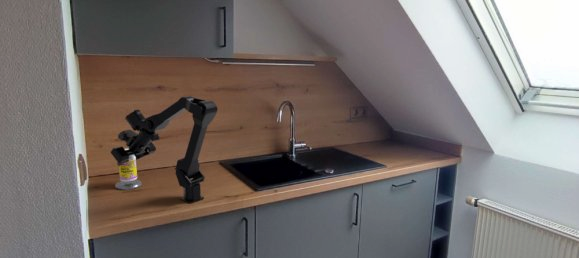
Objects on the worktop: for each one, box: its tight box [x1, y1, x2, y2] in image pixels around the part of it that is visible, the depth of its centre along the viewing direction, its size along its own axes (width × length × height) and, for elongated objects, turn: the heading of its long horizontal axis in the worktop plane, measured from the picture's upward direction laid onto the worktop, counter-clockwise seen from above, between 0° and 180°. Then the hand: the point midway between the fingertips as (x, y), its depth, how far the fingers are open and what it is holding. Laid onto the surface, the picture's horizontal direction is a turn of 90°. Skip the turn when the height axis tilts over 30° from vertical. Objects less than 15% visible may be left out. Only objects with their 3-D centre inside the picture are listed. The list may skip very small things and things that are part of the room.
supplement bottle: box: [118, 148, 138, 182], centre depth 153 cm, size 7×7×13 cm
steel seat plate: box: [114, 179, 142, 191], centre depth 155 cm, size 10×10×1 cm
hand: (125, 162), depth 153 cm, fingers closed on supplement bottle, 7 cm apart
